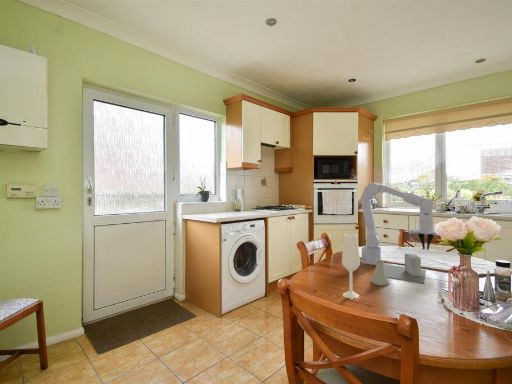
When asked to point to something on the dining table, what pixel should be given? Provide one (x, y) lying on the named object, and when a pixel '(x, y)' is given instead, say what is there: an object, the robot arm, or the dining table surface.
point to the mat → (403, 274)
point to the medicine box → (413, 264)
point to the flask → (379, 274)
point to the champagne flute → (350, 260)
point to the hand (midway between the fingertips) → (425, 249)
